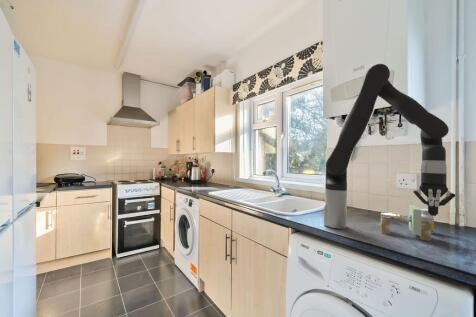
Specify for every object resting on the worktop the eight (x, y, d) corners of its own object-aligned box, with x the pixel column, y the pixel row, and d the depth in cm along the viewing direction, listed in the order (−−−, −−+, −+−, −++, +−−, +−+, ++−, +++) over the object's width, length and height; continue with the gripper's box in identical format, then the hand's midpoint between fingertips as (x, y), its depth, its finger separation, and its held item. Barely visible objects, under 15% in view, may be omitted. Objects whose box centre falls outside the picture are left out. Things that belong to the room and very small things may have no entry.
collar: (413, 234, 84) (413, 209, 84) (408, 228, 92) (408, 205, 92) (421, 235, 83) (421, 210, 83) (415, 229, 91) (416, 205, 91)
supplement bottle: (417, 229, 98) (417, 207, 98) (433, 231, 94) (433, 209, 95) (417, 231, 94) (417, 209, 94) (434, 234, 90) (434, 211, 90)
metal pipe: (381, 219, 92) (381, 213, 92) (380, 217, 95) (381, 211, 95) (429, 225, 84) (430, 218, 84) (428, 223, 86) (428, 217, 86)
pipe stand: (381, 233, 91) (381, 216, 91) (380, 229, 96) (380, 214, 96) (430, 241, 83) (431, 223, 83) (427, 236, 88) (427, 219, 88)
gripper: (414, 171, 85) (413, 214, 85) (460, 173, 78) (459, 220, 78) (410, 171, 91) (410, 211, 91) (452, 172, 85) (452, 216, 84)
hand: (432, 215), depth 85 cm, fingers closed
